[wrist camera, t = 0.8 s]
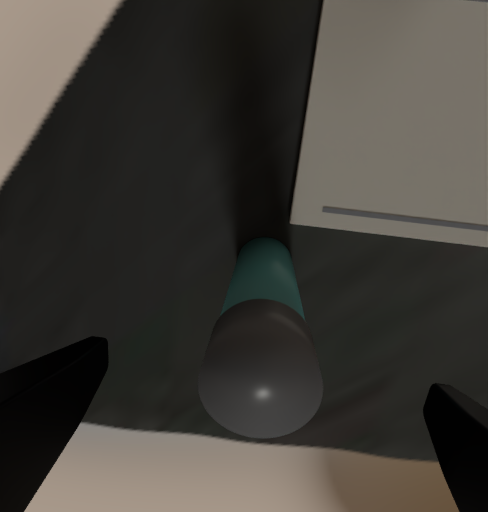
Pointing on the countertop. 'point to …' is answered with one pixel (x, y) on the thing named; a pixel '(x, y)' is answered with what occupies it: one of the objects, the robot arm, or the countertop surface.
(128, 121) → the countertop surface
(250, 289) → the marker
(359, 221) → the notepad
